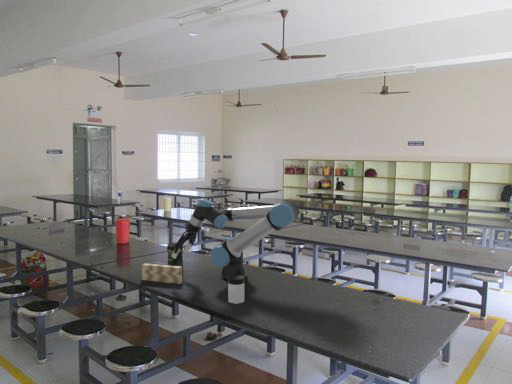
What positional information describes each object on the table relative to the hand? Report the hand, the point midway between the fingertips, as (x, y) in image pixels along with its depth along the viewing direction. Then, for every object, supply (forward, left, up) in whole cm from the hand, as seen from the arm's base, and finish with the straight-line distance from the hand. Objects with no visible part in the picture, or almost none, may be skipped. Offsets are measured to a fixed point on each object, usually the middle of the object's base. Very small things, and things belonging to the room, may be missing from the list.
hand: (179, 255), depth 236 cm
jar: (-43, +24, -14) cm, 52 cm away
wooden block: (+8, +7, -14) cm, 17 cm away
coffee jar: (+8, -9, -14) cm, 18 cm away
